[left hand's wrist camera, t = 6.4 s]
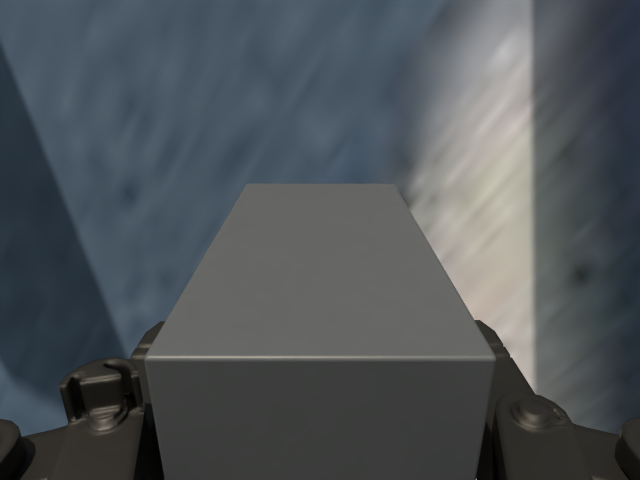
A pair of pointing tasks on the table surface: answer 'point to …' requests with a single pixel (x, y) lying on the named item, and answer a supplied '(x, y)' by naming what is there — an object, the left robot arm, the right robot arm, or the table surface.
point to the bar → (320, 347)
